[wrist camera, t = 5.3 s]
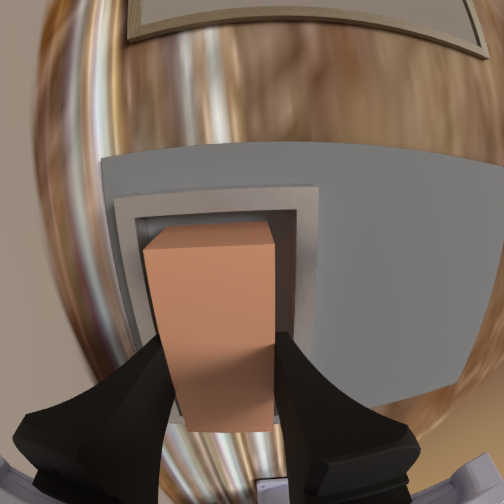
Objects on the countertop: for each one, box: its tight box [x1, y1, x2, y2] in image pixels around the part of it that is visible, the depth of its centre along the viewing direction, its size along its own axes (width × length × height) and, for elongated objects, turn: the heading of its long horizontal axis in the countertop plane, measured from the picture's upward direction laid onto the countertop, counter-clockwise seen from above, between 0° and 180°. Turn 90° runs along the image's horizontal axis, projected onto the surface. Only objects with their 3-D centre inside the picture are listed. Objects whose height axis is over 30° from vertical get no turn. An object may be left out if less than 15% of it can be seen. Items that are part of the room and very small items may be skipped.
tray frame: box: [114, 183, 319, 424], centre depth 13 cm, size 13×8×2 cm, turn 2°
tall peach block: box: [143, 221, 275, 433], centre depth 11 cm, size 4×9×3 cm, turn 2°
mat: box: [101, 142, 504, 408], centre depth 14 cm, size 16×22×1 cm
